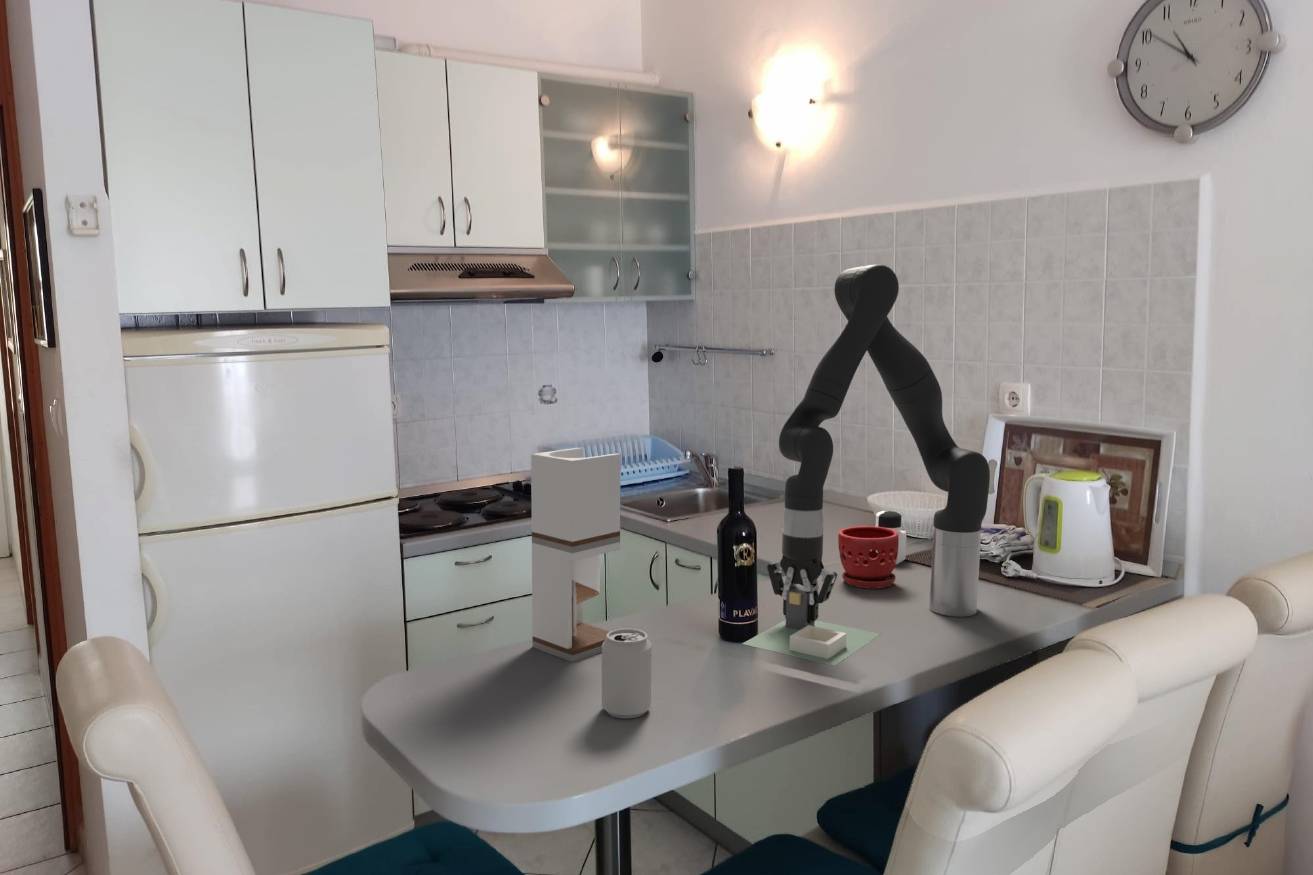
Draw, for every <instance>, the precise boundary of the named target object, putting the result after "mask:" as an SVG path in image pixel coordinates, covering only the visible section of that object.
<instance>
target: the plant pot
mask: <svg viewBox="0 0 1313 875" xmlns="http://www.w3.org/2000/svg"><path fill="white" fill-rule="evenodd" d="M837 536H838V537H837V538H838V540H837V541H838V544H837V545H838V551H839V552H838V553H839V558H840V562H841V565H842V568H843V569H844V572H842V574H841V576H842V579H843V580H844V582H845V583H847V584H848V585H850V586H853V587H856V588H861V589H864V590H865V589H882V588H887V587H889V586H891V585H892V584H894V583H895V582H896V574H895V573H893V571H894V568H895V566H896V565H895V564H896V560H897V555H898V545H899V537H898V533H897V531H895V530H892V529H889V528H884V527H876V526H875V525H874V526H873V525H872V526H871V525H869V526H868V525H867V526H866V525H863V526H850V527H846V528H842V529H840V530H839V532H838V534H837ZM870 550H872V551H870ZM876 550H877V551H878V553H877V552H876Z"/></svg>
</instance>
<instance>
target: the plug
mask: <svg viewBox="0 0 1313 875" xmlns="http://www.w3.org/2000/svg"><path fill="white" fill-rule="evenodd" d="M808 604H809V602H808V594H807V593H805V590H804V586H798V585H797V586H796V587H795V588H792V589H791V590H787V598H786V618H785V620H786V627H788V628H793V629H797V630H801V629H803V628H805V627H806V626H808V625H810V626H814V623H812V624H809V623H807V617H808Z"/></svg>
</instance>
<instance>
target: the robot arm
mask: <svg viewBox="0 0 1313 875" xmlns="http://www.w3.org/2000/svg"><path fill="white" fill-rule="evenodd" d="M899 287H900V284H899V279H898V276H897V275H896V272H895V271H893V269H891V267H889V266H887V265H884V264H869V265H862V266H857V267H856V266H855V267H851V268H848V269H845V270H844V271H842V272H840V274H839V275H838V276H837V278H836V279H835V283H834V289H833V290H834V297H835V301H836V303H837V305H838V307H839V309H840V311H841V312H842V314H843V315H844V317H845V319H846V320H847V323H846V325H845V327H844V328H843V330H842V332H841V333H840V335H839V336H838V338H837V339H836V340H835V342H834V343H833V344H832V345H831V346H830V348H829V349H828V350H827V351H826V353H825V354H824V355H823V356H822V358H821V359H820V361H819V363H818V364H817V365H816V368H815V370H814V372H813V374H812V377H811V379H810V381H809V384H808V386H807V389H806V392H805V393H804V396H803V399H801V401H800V402H799V404H797V406H796V407H795V409H794V411H793V412H792V413H791V414H790V416H789V417H788V419H786V421H785V423H784V425H783V427H782V429H781V431H780V434H779V439H778V448H779V451H780V454H781V455H782V456H783V457H784V458H785V459H787V460H790V461H793V462H799V463H800V466H799V470H798V473H797V474H793V475H790V476H789V477H787V479H786V481H785V487H784V489H785V490H784V509H783V510H784V511H783V517H782V526H781V528H782V533H781V534H782V538H781V539H782V540H781V553H782V557H781V559H780V561H773V562H770V563H768V564H767V566H766V568H767V573H768V576H769V580H770V582H771V586H772V590H773V591H772V592H773V593H774V595H775V596H778V595H779V596H780V597H781V598H782V599H783V600H782V601H783V602H782V604H783V605H782V614H783V616H784V619H786V598H787V590H791V589H792V588H795V587H796V586H798V585H800V586H801V587H804V590H805V593H807V594H808V602H809V604H808V617H807V623H809V624H812V623H814V622H815V620H817V621H818V618H819V604H823V603H824V602H826V601H828V600H829V599H830V596H831V594H832V590H833V589H834V588H833V587H834V585H835V583H836V581H837V579H838V573H837V572H836V571H832V572H831V571H829V570H827V569H826V568H825V566H824V564H823V560H822V559H823V553H824V552H823V551H824V550H823V548H824V511H823V510H824V509H823V506H824V505H823V504H824V485H825V482H826V480H827V477H828V474H829V473H828V472H829V470H830V466H831V464H832V459H833V456H834V443H833V442H834V441H833V439H832V435H831V433H830V432H829V431H828V430H827V429H825V428H824V427H821V426H820V425H821V424H822V423H823V422H825V421H826V420H830V419H834V418H836V416H838V414H839V412H840V411H841V408H842V405H843V403H844V400H845V398H846V396H847V393H848V391H849V389H850V386H851V385H852V384H851V383H852V381H853V379H854V376H855V374H856V371H857V369H858V368H859V367H860V365H861V362H862V360H863V359H864V356H865V355H866V353H868V356H869V357H870V360H871V361H872V362H873V364H874V366H875V368H876V370H877V372H878V374H879V375H880V377H881V379H882V382H883V383H884V386H885V387H886V389H887V392H888V393H889V396H890V397H891V399H892V401H893V403H894V405H895V406H896V408H897V410H898V412H899V413H900V415H901V417H902V419H903V421H904V423H905V425H906V427H907V429H908V431H909V433H910V435H911V436H912V438H913V440H914V443H915V444H916V447H917V449H918V452H919V455H920V458H921V459H922V462H923V465H924V467H925V470H926V473H927V475H928V477H929V479H930V481H931V482H932V483H933V485H934V486H935V487H936V488H938V489H940V490H941V491H943V492H946V493H947V502H946V506H945V507H944V508H943V509H938V510H937V511H935V512H934V515H933V528H932V531H933V532H932V548H931V549H932V550H931V552H932V553H931V569H930V571H931V572H930V588H929V589H930V590H929V610H931V611H932V612H934V613H936V614H939V615H943V616H948V617H970V616H973V615H975V614H977V612H978V611H977V610H978V609H977V607H978V594H979V592H978V591H979V578H980V577H979V576H980V575H979V574H980V573H979V572H980V561H981V560H980V558H981V556H980V555H981V538H982V537H981V536H982V535H981V534H982V524H983V521H984V519H985V517H986V515H987V509H988V503H989V502H988V501H989V500H988V499H989V491H990V490H989V489H990V482H991V481H990V480H991V474H990V473H991V471H990V465H989V463H988V460H987V458H986V457H985V456H984V455H983V454H981V453H980V452H977V451H975V450H970V449H966V448H962V447H959V446H958V445H957V443H956V442H955V441H954V439H953V437H952V436H951V433H950V431H949V430H948V428H947V426H946V423H945V420H944V417H943V393H942V389H941V386H940V384H939V381H938V379H937V377H936V374H935V373H934V370H933V369H932V366H931V365H930V363H929V361H928V360H927V358H926V357H925V356H924V355H923V353H922V352H921V351H919V350H920V349H918V348H917V347H916V346H915V345H914V344H913V343H911V342H910V341H909V340H908V339H907V338H906V337H905V336H904V335H902V334H901V333H900V332H899V331H898V330H897V328H896V327H895V326H894V325H893V323H892V322H891V321H890V319H889V318H888V316H889V314H890V312H891V311H892V308H893V307H894V305H895V303H896V301H897V298H898V295H899V290H900V288H899ZM782 571H783V573H784V575H785V577H786V578H785V580H784V579H783V575H782ZM820 576H821V581H822V582H823V583H822V586H821V588H819V581H818V579H819V577H820ZM819 589H820V590H819Z"/></svg>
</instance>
